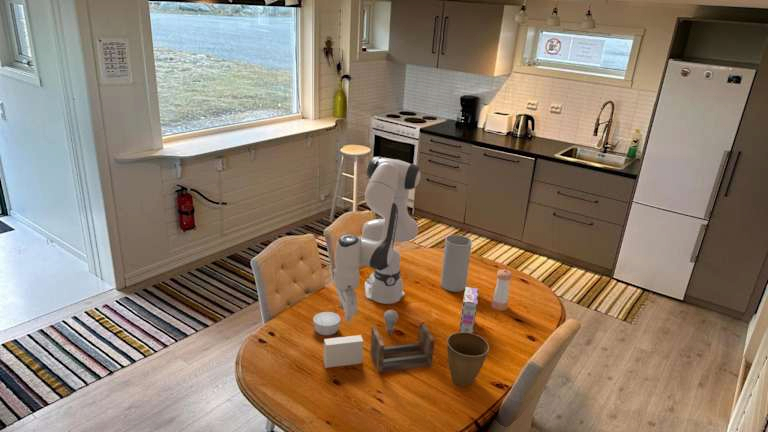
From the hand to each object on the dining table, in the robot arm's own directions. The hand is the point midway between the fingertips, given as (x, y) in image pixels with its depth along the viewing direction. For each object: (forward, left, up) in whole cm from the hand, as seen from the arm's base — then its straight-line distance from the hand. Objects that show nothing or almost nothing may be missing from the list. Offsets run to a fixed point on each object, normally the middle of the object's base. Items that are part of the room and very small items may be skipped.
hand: (345, 313), depth 194 cm
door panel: (0, 0, -21) cm, 21 cm away
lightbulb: (-15, +23, -21) cm, 35 cm away
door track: (+3, +22, -21) cm, 31 cm away
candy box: (-13, +57, -21) cm, 62 cm away
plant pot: (+19, +41, -21) cm, 50 cm away
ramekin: (-23, -2, -22) cm, 32 cm away
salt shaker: (-27, +80, -21) cm, 87 cm away
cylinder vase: (-49, +66, -21) cm, 85 cm away
